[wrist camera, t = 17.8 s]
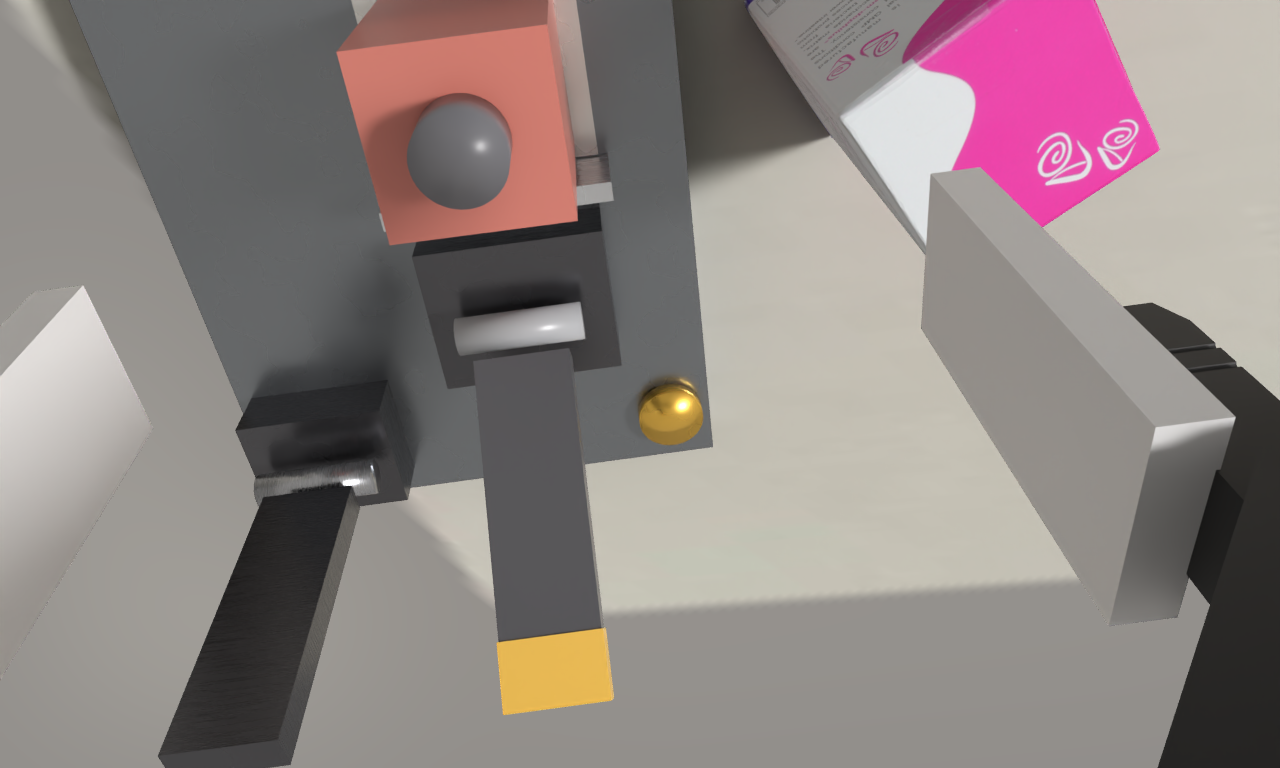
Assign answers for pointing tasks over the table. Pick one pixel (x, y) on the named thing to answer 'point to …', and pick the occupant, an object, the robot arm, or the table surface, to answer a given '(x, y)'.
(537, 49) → the cap
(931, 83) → the supplement box
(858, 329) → the table surface
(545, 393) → the switch lever
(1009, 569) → the table surface
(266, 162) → the metal switch board
